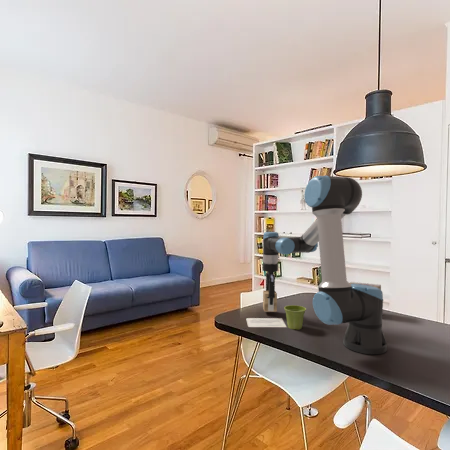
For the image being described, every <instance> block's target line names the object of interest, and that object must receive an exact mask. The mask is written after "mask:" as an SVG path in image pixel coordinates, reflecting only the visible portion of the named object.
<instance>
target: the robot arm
mask: <svg viewBox="0 0 450 450" xmlns="http://www.w3.org/2000/svg"><path fill="white" fill-rule="evenodd" d="M362 190H363V189H362V187H361V185H360V183H359V182H358V181H357V180H356V179H354V178H352V177H349V176H333V175H331V176H330V175H316V176H313V177H312V178H311V179H310V180H309V181H308V183H307V185H306V187H305V189H304V195H303V197H304V202H305V204H306V205H307V206H308V207H309V208H311V210H312V214H313V215H314V216H315V217H316V219H315V221H313V223H312V224H311V225H310V226H309V227H308V228H307V229H306V230H305V231H304V232H303V233H302V235H300V236H295V237H293V236H292V237H291V236H290V237H289V236H288V237H284V236H283V237H282V236H280V235H279V232H277V231H265V232H264V233H263V238H262V262H263V263H262V271H263V272H265V291H269V297H267V298H268V311H274V298H275V291H276V289H275V287H276V286H275V285H276V275H275V272H278V271H279V264H278V262H279V259H280V256H279V254H281V255H290V254H298V253H299V254H300V253H301V254H303V253H304V254H305V253H307V254H308V253H314V252H316V251H317V249H319V259H320V271H321V273H320V274H321V282H320V283H319V284H318V287H317V289H318V291H317V292H316V293H314V295H313V298H312V307H313V310H314V313H315V315H316V317H317V318H318V319H319V321H320V322H322V323H324V324H325V325H330V326H331V325H335V326H338V325H341V324H348V325H347V327H346V329H345V333H344V335H343V339H342V340H343V342H342V343H343V346H344V347H345V348H347V349H349V350H351V351H354V352H355V353H361V354H365V355H381V354H385V353H386V352H387V350H388V348H387V347H388V342H387V341H386V337H385V334H384V330H383V312H384V311H383V310H384V308H383V307H384V297H383V295H384V294H383V293H384V292H383V291H382V289H381V290H380V289H379V288H376V287H372V286H368V285H362V284H350V282H349V281H348V279H347V269H346V258H345V257H346V256H345V247H344V246H345V245H344V236H343V225H342V224H343V223H342V219H343V218H345V216H346V215H351V214H352V212H354V211H355V210H356V209H357V207H358V206H359V204H360V202H361V201H362V198H363V191H362ZM318 247H319V248H318Z"/></svg>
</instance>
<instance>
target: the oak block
mask: <svg viewBox="0 0 450 450" xmlns="http://www.w3.org/2000/svg"><path fill="white" fill-rule="evenodd" d="M267 297H269V291H266V290H263V291H262V309H263V311H264V312H265V313H266V312H267V313H270V312H271V313H273V312H274V313H276V312H278V310H277V309H278V308H277V307H278V293H277V291H276V290H275V298H274V311H268V298H267Z"/></svg>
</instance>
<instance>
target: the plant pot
mask: <svg viewBox="0 0 450 450" xmlns="http://www.w3.org/2000/svg"><path fill="white" fill-rule="evenodd" d="M283 309H284V311H285V317H286V323H287V325H286V326H287V328H288V329H290V330H302V328H303V325H304V324H303V323H304V317H305V312H306V311H307V308H306V307H305V306H302V305H297V304H296V305H295V304H291V305H285V306H284V308H283Z"/></svg>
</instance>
